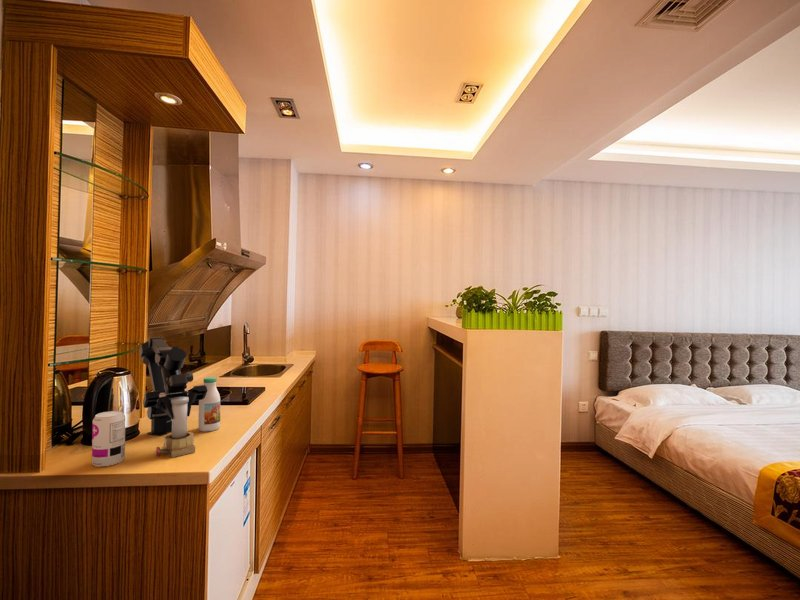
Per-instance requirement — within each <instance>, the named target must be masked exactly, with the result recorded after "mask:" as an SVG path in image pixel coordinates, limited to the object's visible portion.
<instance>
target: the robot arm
mask: <svg viewBox="0 0 800 600" xmlns="http://www.w3.org/2000/svg"><path fill="white" fill-rule="evenodd" d="M138 354H139V357H140V358H141V361H142V363H143V364H144V365H145V366H146V367H147V368H148V373H149V378H150V383H151V388H152V391H146V392H145V393H144V396H143V400H142V405H143V408H145V409H147V410H146V411H147V412H146V415H147V416H146V417H147V418H148V419H149V420H151V422H150V423H151V424H150V427H151V428H150V429H151V431H149V432H147V435H151V436H152V435H153V436H161V437H162V436H163V435H164V436H165V435H166V434H167V435H168V434H170V433H172V419H173V412H172V404H171V399H172V398H175V397H189V402H188V403H187V417H190V416H191V415H190V414H191V410H192V404H193V403H195V401H199V400H202V399H204V398H205V396H206V393H207V391H208V390H207V386H205V385H204V384H199V385H193V388H192V389H191V390H187V386H188V385H187V384H189V383H192V382H193V381H194V374H193V371H186V372H185V373H182V372H181V369H182V368H183V367H184V363H185V360H186V357H187V351H185V350H184V349H182V348H179V346H178V345H174V346H172V345H171V347H170V346H169V345H168V343H167V342H166V341H165V338H164V337H161V336H157V337H155V336H154V337H149V338H148V339H147V341H145V342H144V343H142V344H141V345H140V348H139V352H138ZM185 389H186V390H185Z"/></svg>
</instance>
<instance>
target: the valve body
mask: <svg viewBox="0 0 800 600" xmlns="http://www.w3.org/2000/svg"><path fill="white" fill-rule="evenodd" d="M194 435H195V434H194V433H193V432H192V431H187V436H185V437H182V438H172V433H169V434H167V435H166V436H165V437H164V442H163V448H162V449H161V447H160V446H156V447H155V454H156V456H158V457H161V453H167V454H169V455H170V456H169V455H168V456H169V457H170V458H171V459H172V457H173V458H177V457H181V455H182V456H185V454H186V455H190V454H194V453H193V452H195V453H196V445H194V443H195V442H194V441H195V440H194V439H195V436H194ZM189 453H190V454H189ZM176 456H177V457H176Z"/></svg>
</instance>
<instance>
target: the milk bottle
mask: <svg viewBox="0 0 800 600" xmlns="http://www.w3.org/2000/svg"><path fill="white" fill-rule="evenodd" d="M216 384H217V377H215V376H210V377H209V376H208V377H204V378H203V385H205V386H207V390H208V391H207V393H206V396H205V398H204V399H202V400H198V420H197V421H198V431H200V432H205V433H206V432H213V431H216V430H218V429H220V428H221V396H220V395H221V394H220V393H219V391H218V388H217V385H216Z"/></svg>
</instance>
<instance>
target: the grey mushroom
mask: <svg viewBox="0 0 800 600" xmlns="http://www.w3.org/2000/svg"><path fill="white" fill-rule="evenodd" d="M188 402H189V397H175V398H172V399H171V404H172V412H173V419H171V420H172V432H171V434H172V438H182V437H185V436H187V432H188V416H187V403H188Z"/></svg>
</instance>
